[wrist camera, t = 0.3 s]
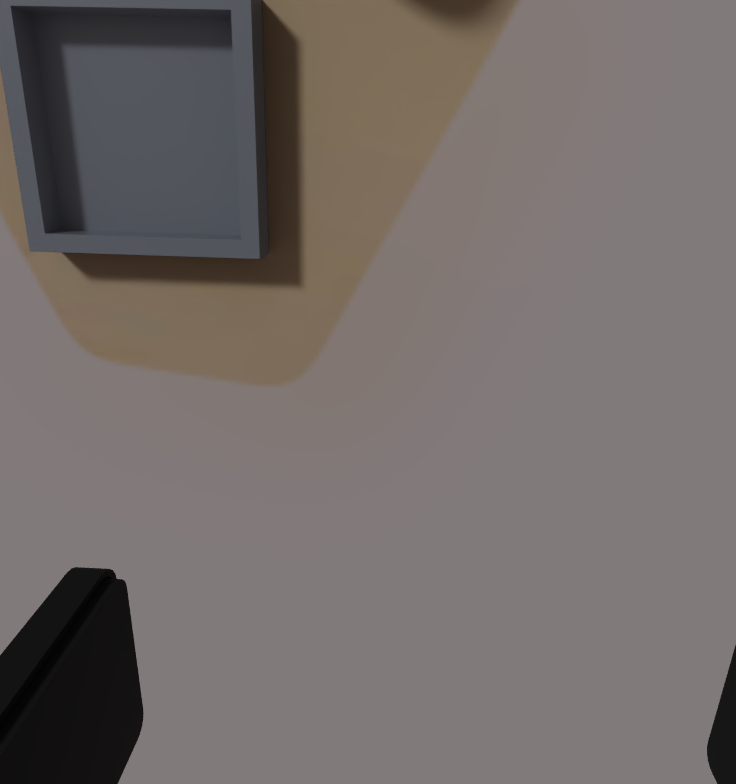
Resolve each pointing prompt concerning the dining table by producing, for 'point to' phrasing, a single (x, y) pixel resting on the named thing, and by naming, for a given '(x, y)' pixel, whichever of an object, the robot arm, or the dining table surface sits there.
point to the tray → (138, 125)
